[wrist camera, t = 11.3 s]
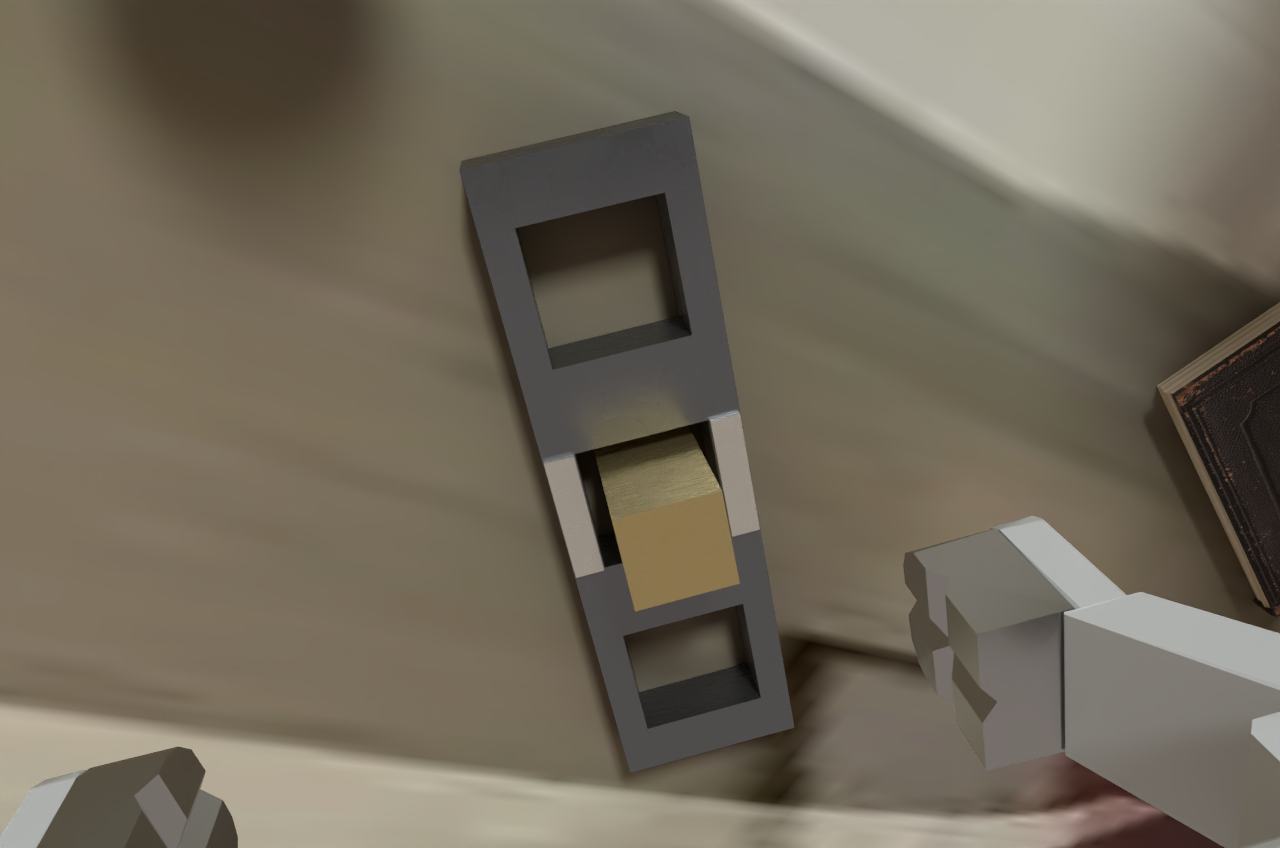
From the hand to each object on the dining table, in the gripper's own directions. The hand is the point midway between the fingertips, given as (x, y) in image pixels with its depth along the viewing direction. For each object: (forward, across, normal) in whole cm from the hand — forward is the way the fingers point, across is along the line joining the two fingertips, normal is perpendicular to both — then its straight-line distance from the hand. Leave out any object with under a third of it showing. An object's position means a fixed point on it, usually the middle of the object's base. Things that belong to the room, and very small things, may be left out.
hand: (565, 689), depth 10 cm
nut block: (+26, -2, +11) cm, 28 cm away
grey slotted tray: (+26, -2, +11) cm, 28 cm away
